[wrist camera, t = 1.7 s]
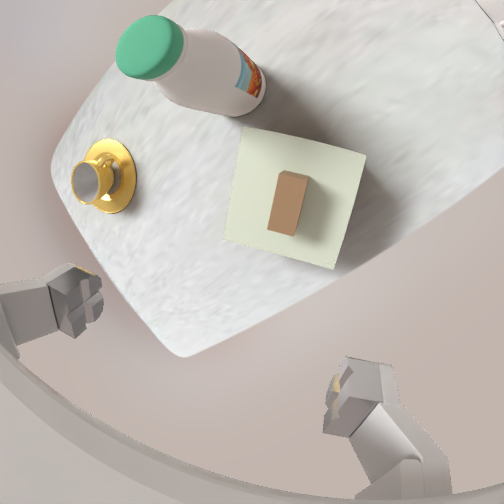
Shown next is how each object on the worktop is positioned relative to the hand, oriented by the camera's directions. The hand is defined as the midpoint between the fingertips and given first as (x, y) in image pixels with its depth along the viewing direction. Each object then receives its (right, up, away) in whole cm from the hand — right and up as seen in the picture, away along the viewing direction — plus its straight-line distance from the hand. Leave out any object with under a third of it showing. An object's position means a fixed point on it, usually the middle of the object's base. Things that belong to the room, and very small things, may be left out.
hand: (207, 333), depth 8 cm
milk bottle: (-1, +22, +23) cm, 32 cm away
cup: (-21, +14, +32) cm, 41 cm away
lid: (+5, +8, +19) cm, 21 cm away
